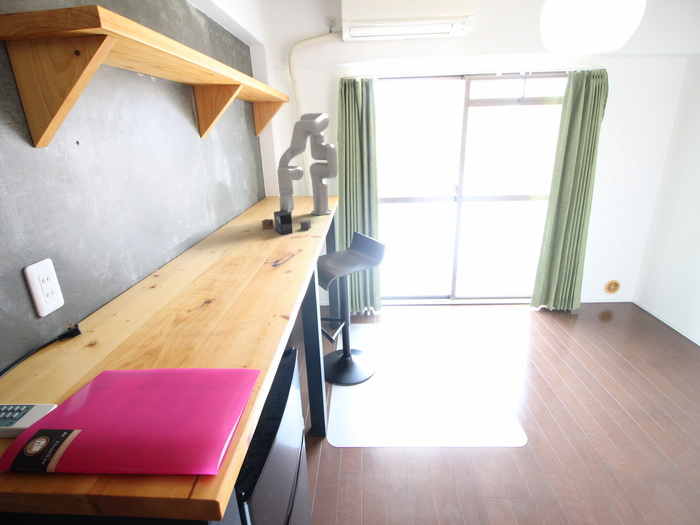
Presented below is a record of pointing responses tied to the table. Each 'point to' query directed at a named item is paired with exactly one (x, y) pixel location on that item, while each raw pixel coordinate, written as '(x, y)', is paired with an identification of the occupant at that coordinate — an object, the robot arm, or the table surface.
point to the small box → (283, 222)
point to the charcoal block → (305, 224)
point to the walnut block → (267, 223)
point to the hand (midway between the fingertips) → (288, 224)
